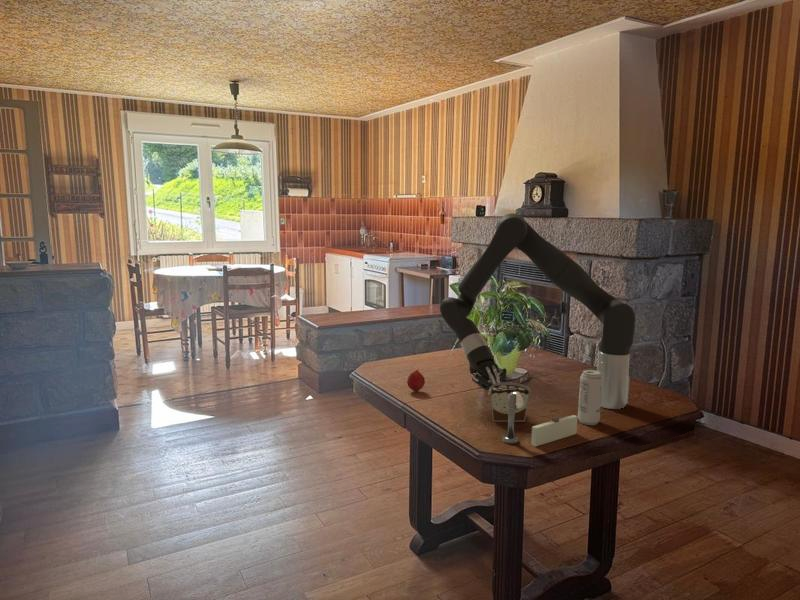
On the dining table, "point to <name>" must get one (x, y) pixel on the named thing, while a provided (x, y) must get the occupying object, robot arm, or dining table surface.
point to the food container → (501, 401)
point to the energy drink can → (590, 397)
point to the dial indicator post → (514, 403)
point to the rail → (554, 430)
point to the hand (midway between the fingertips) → (502, 399)
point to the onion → (416, 381)
